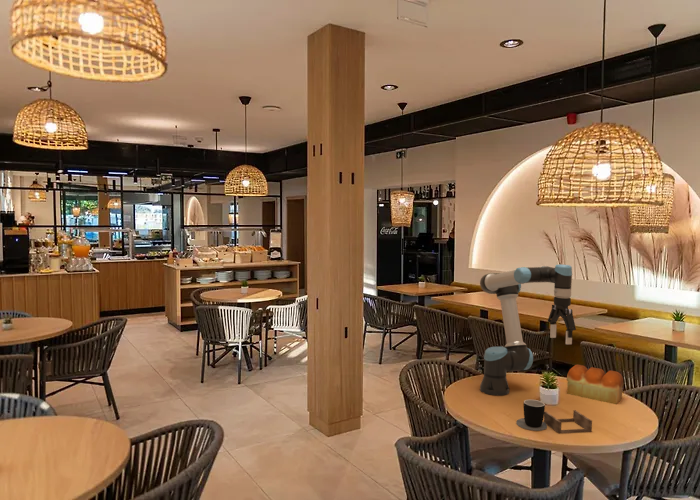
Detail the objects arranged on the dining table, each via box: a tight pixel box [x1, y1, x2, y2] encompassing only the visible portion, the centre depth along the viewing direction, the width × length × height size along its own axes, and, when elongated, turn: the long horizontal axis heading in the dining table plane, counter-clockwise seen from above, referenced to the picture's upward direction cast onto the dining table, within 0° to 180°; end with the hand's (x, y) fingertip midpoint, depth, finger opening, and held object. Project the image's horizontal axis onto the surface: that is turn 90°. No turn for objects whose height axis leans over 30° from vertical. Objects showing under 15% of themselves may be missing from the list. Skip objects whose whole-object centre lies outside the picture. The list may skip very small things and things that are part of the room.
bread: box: [566, 363, 624, 405], centre depth 274 cm, size 25×12×15 cm, turn 51°
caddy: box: [543, 409, 593, 434], centre depth 232 cm, size 13×16×5 cm
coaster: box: [515, 417, 548, 432], centre depth 234 cm, size 13×13×1 cm
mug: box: [523, 399, 546, 428], centre depth 234 cm, size 12×9×10 cm
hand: (560, 340), depth 249 cm, fingers open, 13 cm apart
